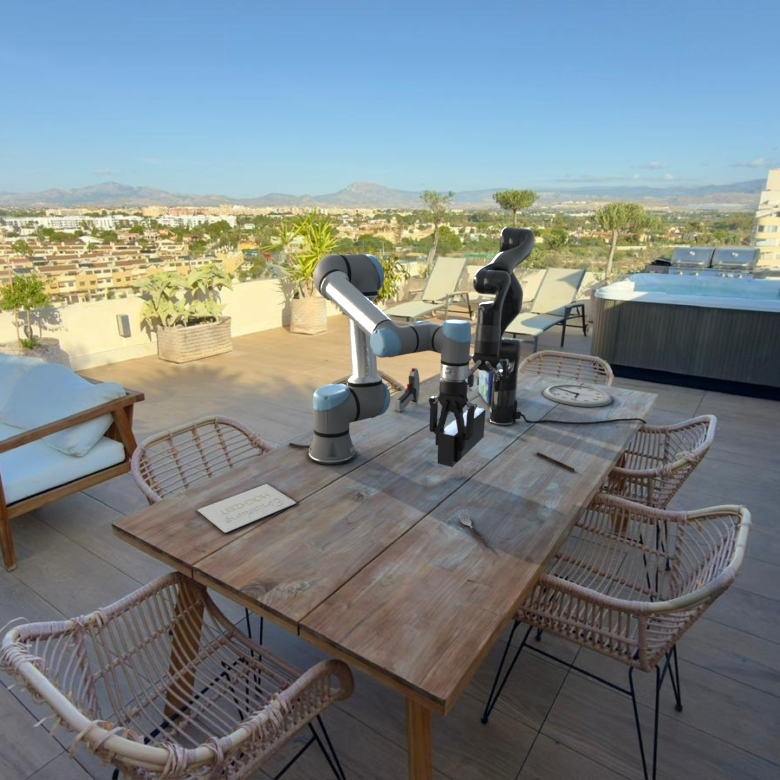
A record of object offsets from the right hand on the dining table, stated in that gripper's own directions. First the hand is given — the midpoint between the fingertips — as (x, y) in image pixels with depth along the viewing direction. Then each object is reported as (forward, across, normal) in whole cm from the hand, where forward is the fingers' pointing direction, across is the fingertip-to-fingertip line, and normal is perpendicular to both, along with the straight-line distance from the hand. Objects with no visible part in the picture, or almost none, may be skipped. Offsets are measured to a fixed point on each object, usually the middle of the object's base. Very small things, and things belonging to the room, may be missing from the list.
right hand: (483, 389), depth 162 cm
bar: (+15, 0, -15) cm, 21 cm away
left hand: (+14, 0, -24) cm, 28 cm away
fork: (+25, +14, -39) cm, 48 cm away
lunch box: (+27, -20, +66) cm, 73 cm away
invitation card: (+25, -42, -60) cm, 78 cm away
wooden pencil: (+26, +21, +14) cm, 36 cm away
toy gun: (+26, -46, +35) cm, 64 cm away
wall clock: (+27, +12, +92) cm, 96 cm away
